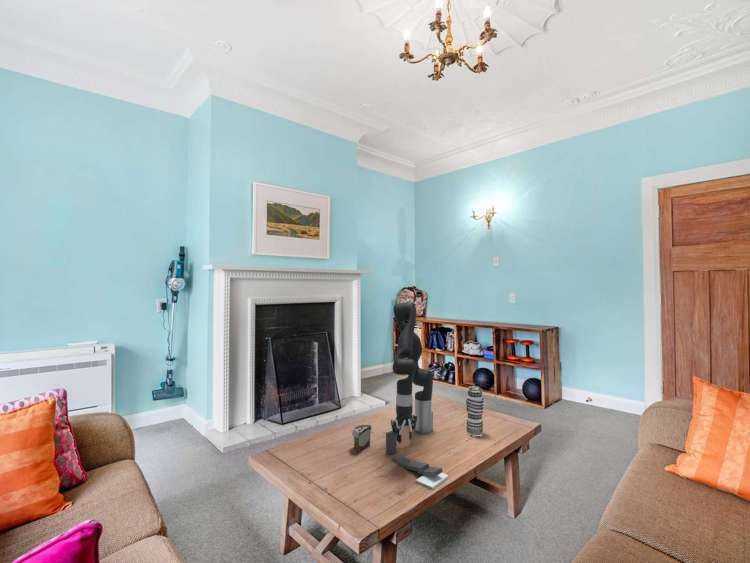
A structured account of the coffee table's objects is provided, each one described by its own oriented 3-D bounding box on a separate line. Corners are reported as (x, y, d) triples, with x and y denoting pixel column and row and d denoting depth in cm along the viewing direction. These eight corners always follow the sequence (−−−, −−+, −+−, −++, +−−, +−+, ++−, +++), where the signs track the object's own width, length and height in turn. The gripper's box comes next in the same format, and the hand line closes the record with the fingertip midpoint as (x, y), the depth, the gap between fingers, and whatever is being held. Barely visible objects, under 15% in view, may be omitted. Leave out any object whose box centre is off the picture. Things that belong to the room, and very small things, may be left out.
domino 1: (394, 451, 177) (394, 430, 178) (396, 452, 176) (396, 431, 176) (385, 453, 175) (386, 432, 175) (387, 455, 173) (387, 433, 173)
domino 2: (407, 444, 169) (407, 422, 169) (409, 445, 168) (409, 423, 168) (398, 446, 166) (398, 424, 167) (400, 448, 165) (400, 425, 165)
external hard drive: (415, 483, 150) (431, 472, 159) (432, 491, 144) (448, 478, 154) (415, 479, 150) (431, 468, 159) (432, 487, 144) (448, 474, 154)
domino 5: (424, 465, 159) (441, 468, 152) (425, 469, 159) (442, 472, 152) (416, 470, 156) (433, 472, 149) (417, 474, 156) (434, 476, 148)
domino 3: (400, 454, 172) (414, 463, 164) (400, 457, 172) (414, 466, 164) (392, 456, 169) (405, 465, 161) (391, 460, 169) (405, 469, 161)
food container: (361, 442, 187) (361, 422, 187) (371, 445, 184) (371, 425, 184) (347, 451, 176) (347, 430, 177) (357, 454, 173) (357, 433, 173)
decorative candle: (485, 437, 194) (485, 389, 194) (468, 437, 194) (468, 389, 194) (481, 430, 203) (481, 384, 203) (464, 430, 203) (464, 384, 203)
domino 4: (414, 460, 164) (428, 463, 156) (414, 464, 163) (429, 467, 155) (405, 464, 161) (419, 468, 153) (406, 468, 160) (420, 472, 152)
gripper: (411, 398, 174) (411, 434, 174) (386, 403, 166) (386, 441, 166) (421, 402, 168) (421, 440, 168) (396, 408, 160) (396, 447, 160)
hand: (404, 440), depth 167 cm, fingers closed on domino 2, 5 cm apart
